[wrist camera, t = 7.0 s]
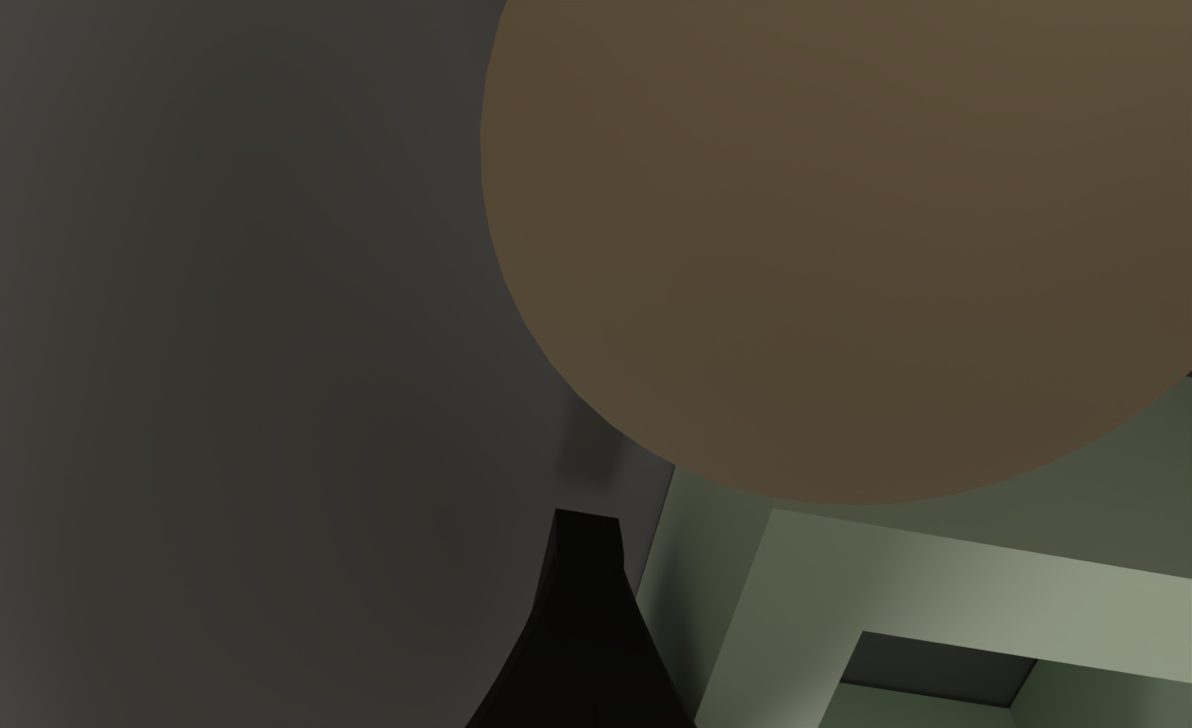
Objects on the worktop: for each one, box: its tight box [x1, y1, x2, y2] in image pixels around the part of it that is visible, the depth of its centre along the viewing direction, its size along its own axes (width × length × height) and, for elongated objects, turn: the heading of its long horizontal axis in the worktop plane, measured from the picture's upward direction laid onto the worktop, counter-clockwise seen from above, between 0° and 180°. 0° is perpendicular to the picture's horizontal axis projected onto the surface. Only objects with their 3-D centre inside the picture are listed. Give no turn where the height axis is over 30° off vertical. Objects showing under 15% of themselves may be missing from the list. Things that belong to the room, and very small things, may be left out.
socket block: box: [635, 376, 1192, 728], centre depth 13 cm, size 7×7×4 cm
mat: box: [0, 0, 1192, 728], centre depth 14 cm, size 19×24×1 cm
